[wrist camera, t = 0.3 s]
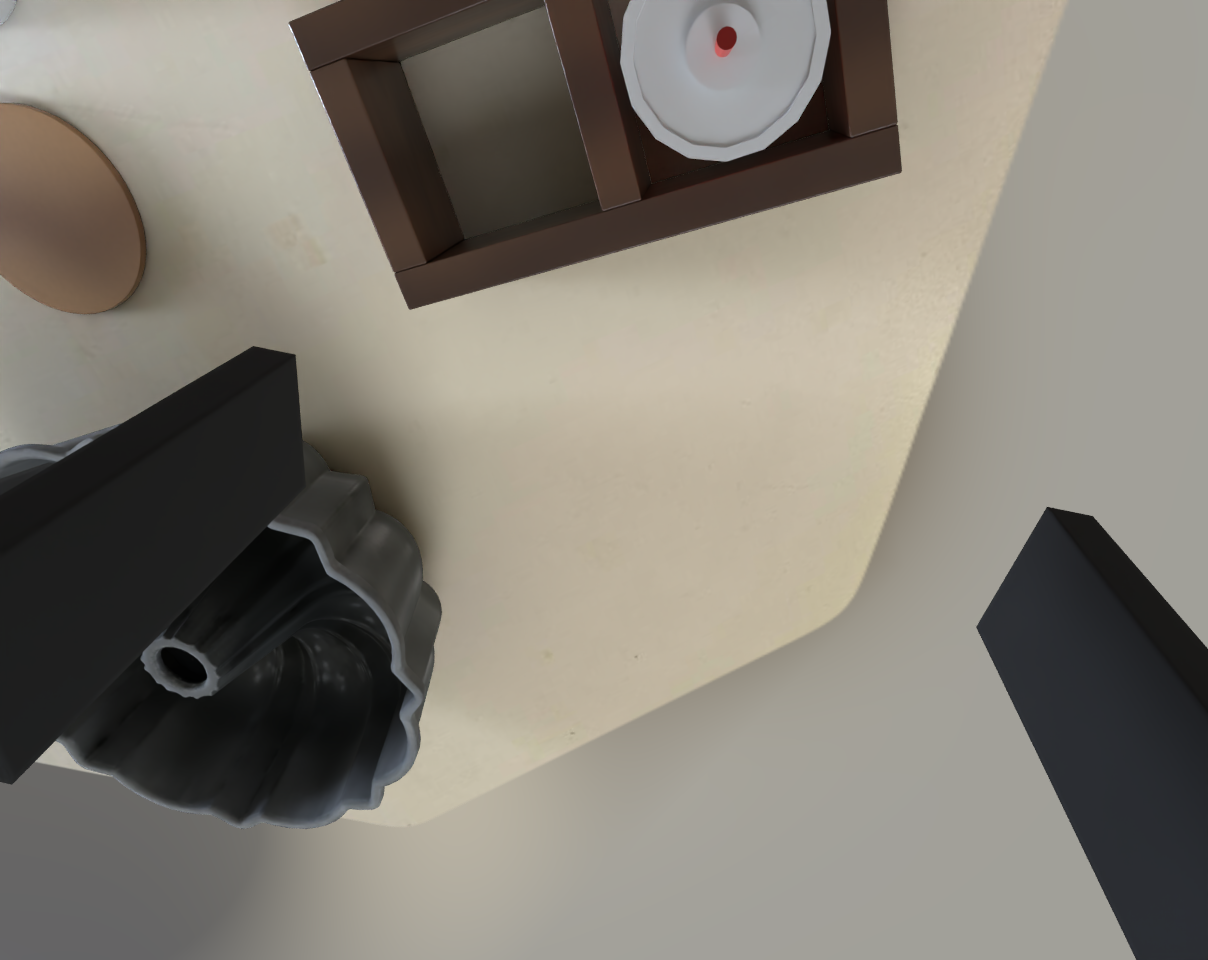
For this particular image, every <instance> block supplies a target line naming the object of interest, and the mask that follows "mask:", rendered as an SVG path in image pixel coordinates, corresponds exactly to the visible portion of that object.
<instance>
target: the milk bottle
mask: <svg viewBox="0 0 1208 960" xmlns="http://www.w3.org/2000/svg"><path fill="white" fill-rule="evenodd" d="M16 2H17V0H0V25H1V24H2V23H4V22H5V21H6V20H7V19H8V17H9V16H10V14H11V13H12V11H13V10H14V8H15V5H16Z"/></svg>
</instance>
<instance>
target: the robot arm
mask: <svg viewBox="0 0 1208 960" xmlns="http://www.w3.org/2000/svg"><path fill="white" fill-rule="evenodd" d="M305 487H306V481H305V468H304V456H303V443H302V431H301V418H300V405H299V393H298V380H297V368H296V355H294V354H289V353H284V352H279V351H275V350H270V349H265V348H260V347H255V346H253V347H251V348H249V349H248V350H246V351H244V352H243V353H241V354H239V355H238V356H236V357H234V358H232V359H231V360H229V361H227V362H226V363H224V364H222V365H221V366H219V367H217V368H215V369H214V370H212V371H210V372H209V373H207V374H205V375H204V376H202V377H200V378H199V379H197V380H195V381H193V382H192V383H190V384H188V385H187V386H185V387H183V388H182V389H180V390H178V391H176V392H175V393H173V394H171V395H170V396H168V397H166V398H165V399H163V400H161V401H159V402H158V403H156V404H154V405H153V406H151V407H149V408H148V409H146V410H144V411H143V412H141V413H139V414H137V415H136V416H134V417H132V418H131V419H129V420H127V421H126V422H124V423H122V424H120V425H119V426H117V427H115V428H114V429H112V430H110V431H109V432H107V433H105V434H103V435H102V436H100V437H98V438H97V439H95V440H93V441H92V442H90V443H88V444H87V445H85V446H83V447H81V448H80V449H78V450H76V451H75V452H73V453H71V454H70V455H68V456H66V457H64V458H63V459H61V460H59V461H58V462H56V463H50V462H49V463H46V464H43V465H40V466H37V467H34V468H31V469H28V470H25V471H22V472H19V473H16V474H13V475H10V476H7V477H4V478H1V479H0V782H3V783H7V784H13V783H14V782H15V781H16V780H17V779H18V778H19V777H20V776H21V775H22V774H23V773H24V772H25V771H26V770H27V769H28V768H29V767H30V766H31V765H32V764H33V763H34V762H35V761H36V760H37V759H38V758H39V757H40V756H41V755H42V754H43V753H44V752H45V751H46V750H47V749H48V748H49V747H50V746H51V745H52V744H53V743H54V742H55V741H56V740H57V739H58V738H59V737H60V736H61V735H62V734H63V732H64V731H65V730H66V729H67V728H68V727H69V726H70V725H71V724H72V723H73V722H74V721H75V720H76V719H77V718H78V717H79V716H80V715H81V714H82V713H83V712H84V711H85V710H86V709H87V708H88V707H89V706H90V705H91V704H92V703H93V702H94V701H95V700H96V699H97V698H98V697H99V696H100V695H101V694H102V693H103V692H104V691H105V690H106V689H107V688H108V687H109V686H110V685H111V684H112V683H113V682H114V681H115V680H116V679H117V678H118V677H119V676H120V675H121V674H122V673H123V672H124V671H125V670H126V669H127V668H128V667H129V666H130V665H131V664H132V663H133V662H134V661H135V660H136V659H137V658H138V657H139V656H140V654H141V653H142V652H143V651H144V650H145V649H146V648H147V647H148V646H149V645H150V644H151V643H152V642H153V641H154V640H155V639H156V638H157V637H158V636H159V635H160V634H161V633H162V632H163V631H164V630H165V629H166V628H167V627H168V626H169V625H170V624H171V623H172V622H173V621H174V620H175V619H176V618H177V617H178V616H179V615H180V614H181V613H182V612H183V611H184V610H185V609H186V608H187V607H188V606H189V605H190V604H191V603H192V602H193V601H194V600H195V599H196V598H197V597H198V596H199V595H200V594H201V593H202V592H203V591H204V590H205V589H206V588H207V587H208V586H209V585H210V584H211V583H212V582H213V581H214V580H215V579H216V578H217V576H218V575H219V574H220V573H221V572H222V571H223V570H224V569H225V568H226V567H227V566H228V565H229V564H230V563H231V562H232V561H233V560H234V559H235V558H236V557H237V556H238V555H239V554H240V553H241V552H242V551H243V550H244V549H245V548H246V547H247V546H248V545H249V544H250V543H251V542H252V541H253V540H254V539H255V538H256V537H257V536H258V535H259V534H260V533H261V532H262V531H263V530H264V529H265V528H266V527H267V526H268V525H269V524H270V523H271V522H272V521H273V520H274V519H275V518H276V517H277V516H278V515H279V514H280V513H281V512H282V511H283V510H284V509H285V508H286V507H287V506H288V505H289V504H290V503H291V502H292V501H293V500H294V499H295V497H296V496H297V495H298V494H299V493H300V492H301V491H302V490H303V489H304V488H305ZM977 629H978V632H979V634H980V636H981V638H982V640H983V642H984V644H985V646H986V648H987V650H988V652H989V654H990V657H991V658H992V661H993V663H994V665H995V667H996V669H997V671H998V673H999V675H1000V677H1001V679H1002V681H1003V683H1004V686H1005V688H1006V690H1007V692H1008V694H1009V696H1010V698H1011V700H1012V702H1013V704H1014V707H1015V709H1016V711H1017V713H1018V715H1019V717H1020V719H1021V721H1022V723H1023V725H1024V727H1025V729H1026V731H1027V733H1028V735H1029V738H1030V740H1031V742H1032V744H1033V746H1034V748H1035V750H1036V752H1037V754H1038V756H1039V758H1040V761H1041V763H1042V765H1043V767H1044V769H1045V771H1046V773H1047V775H1048V777H1049V779H1050V781H1051V783H1052V785H1053V787H1054V790H1055V792H1056V794H1057V795H1058V798H1059V800H1060V802H1061V804H1062V806H1063V808H1064V810H1065V812H1066V815H1067V817H1068V819H1069V821H1070V823H1071V825H1072V827H1073V829H1074V831H1075V833H1076V835H1077V837H1078V839H1079V842H1080V843H1081V846H1082V848H1083V850H1084V852H1085V854H1086V856H1087V858H1088V860H1089V862H1090V864H1091V866H1092V869H1093V871H1094V872H1095V875H1096V877H1097V879H1098V881H1099V883H1100V885H1101V887H1102V889H1103V891H1104V894H1105V896H1106V898H1107V900H1108V902H1109V904H1110V906H1111V908H1112V910H1113V912H1114V914H1115V916H1116V918H1117V920H1118V922H1119V925H1120V926H1121V929H1122V931H1123V933H1124V935H1125V937H1126V939H1127V941H1128V943H1129V945H1130V948H1131V949H1132V952H1133V954H1134V956H1135V958H1136V960H1208V649H1207V647H1206V646H1205V645H1204V644H1203V643H1202V642H1201V640H1200V639H1199V638H1198V637H1197V636H1196V635H1195V633H1194V632H1193V631H1192V630H1191V629H1190V628H1189V627H1188V625H1187V624H1186V623H1185V622H1184V621H1183V620H1182V618H1181V617H1180V616H1179V615H1178V614H1177V613H1176V612H1175V611H1174V609H1173V608H1172V607H1171V606H1170V605H1169V604H1168V602H1167V601H1166V600H1165V599H1164V598H1163V597H1162V595H1161V594H1160V593H1159V592H1158V591H1157V590H1156V589H1155V587H1154V586H1153V585H1152V584H1151V583H1150V582H1149V580H1148V579H1147V578H1146V577H1145V576H1144V575H1143V574H1142V572H1141V571H1140V570H1139V569H1138V568H1137V567H1136V565H1135V564H1134V563H1133V562H1132V561H1131V560H1130V559H1129V558H1128V556H1127V555H1126V554H1125V553H1124V552H1123V550H1122V549H1121V548H1120V547H1119V546H1118V545H1117V544H1116V542H1114V540H1113V539H1112V538H1111V537H1110V536H1109V534H1108V533H1107V532H1106V531H1105V530H1104V529H1103V528H1102V526H1101V525H1100V524H1099V523H1098V522H1097V520H1095V518H1094V517H1093V516H1089V515H1084V514H1079V513H1075V512H1070V511H1064V510H1060V509H1055V508H1050V507H1047V508H1046V510H1045V511H1044V513H1043V515H1042V516H1041V518H1040V520H1039V522H1038V523H1037V525H1036V527H1035V528H1034V530H1033V532H1032V534H1031V535H1030V537H1029V539H1028V540H1027V542H1026V544H1025V545H1024V547H1023V549H1022V551H1021V552H1020V554H1019V555H1018V557H1017V559H1016V561H1015V562H1014V564H1013V566H1012V568H1011V569H1010V571H1009V572H1008V574H1007V576H1006V577H1005V579H1004V581H1003V583H1002V584H1001V586H1000V588H999V590H998V591H997V593H996V595H995V596H994V598H993V600H992V601H991V603H990V605H989V607H988V608H987V610H986V611H985V613H984V615H983V617H982V618H981V620H980V622H979V623H978V625H977Z"/></svg>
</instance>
